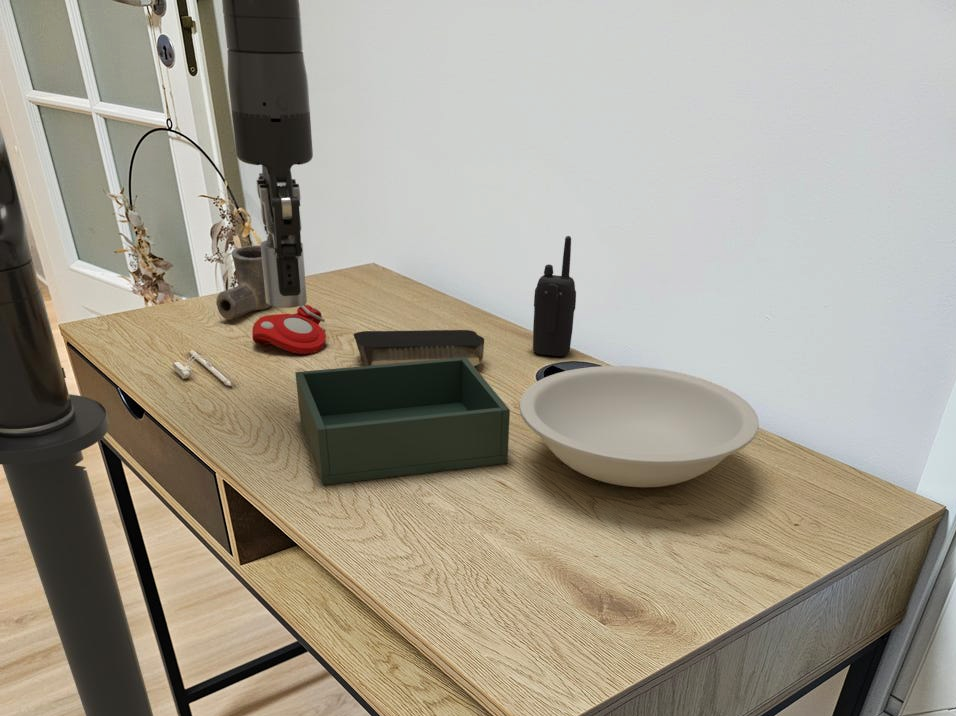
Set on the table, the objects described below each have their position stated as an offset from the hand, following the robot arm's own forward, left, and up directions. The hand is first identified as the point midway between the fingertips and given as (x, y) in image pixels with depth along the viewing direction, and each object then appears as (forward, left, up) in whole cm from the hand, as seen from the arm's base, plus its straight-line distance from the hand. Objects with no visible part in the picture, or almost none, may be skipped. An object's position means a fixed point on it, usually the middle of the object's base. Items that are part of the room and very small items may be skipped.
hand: (287, 287), depth 96 cm
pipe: (-2, +37, -14) cm, 40 cm away
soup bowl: (+31, -25, -14) cm, 42 cm away
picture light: (-11, +14, -14) cm, 22 cm away
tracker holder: (+3, +22, -14) cm, 26 cm away
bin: (+9, -13, -14) cm, 21 cm away
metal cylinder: (0, 0, -2) cm, 2 cm away
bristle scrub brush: (+17, +10, -14) cm, 24 cm away
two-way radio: (+35, +9, -14) cm, 39 cm away
